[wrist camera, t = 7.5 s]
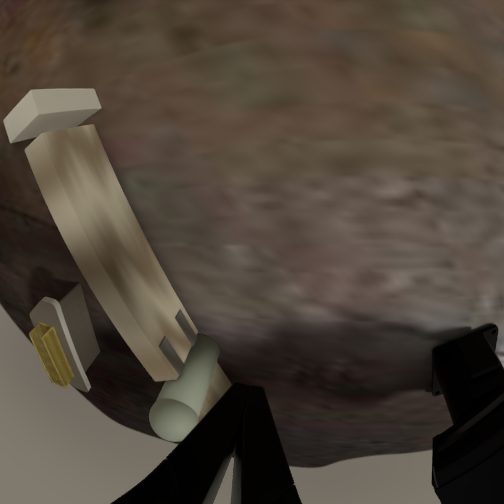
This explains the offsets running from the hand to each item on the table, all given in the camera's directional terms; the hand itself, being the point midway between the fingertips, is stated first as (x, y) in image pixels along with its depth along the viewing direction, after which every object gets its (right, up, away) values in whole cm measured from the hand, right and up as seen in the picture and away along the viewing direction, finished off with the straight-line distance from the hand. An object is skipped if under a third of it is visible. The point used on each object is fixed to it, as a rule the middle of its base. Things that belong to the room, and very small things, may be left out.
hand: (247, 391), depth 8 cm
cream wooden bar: (-8, +5, +12) cm, 15 cm away
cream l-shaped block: (-11, +13, +9) cm, 19 cm away
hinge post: (-4, -4, +16) cm, 16 cm away
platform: (-15, -2, +17) cm, 23 cm away
